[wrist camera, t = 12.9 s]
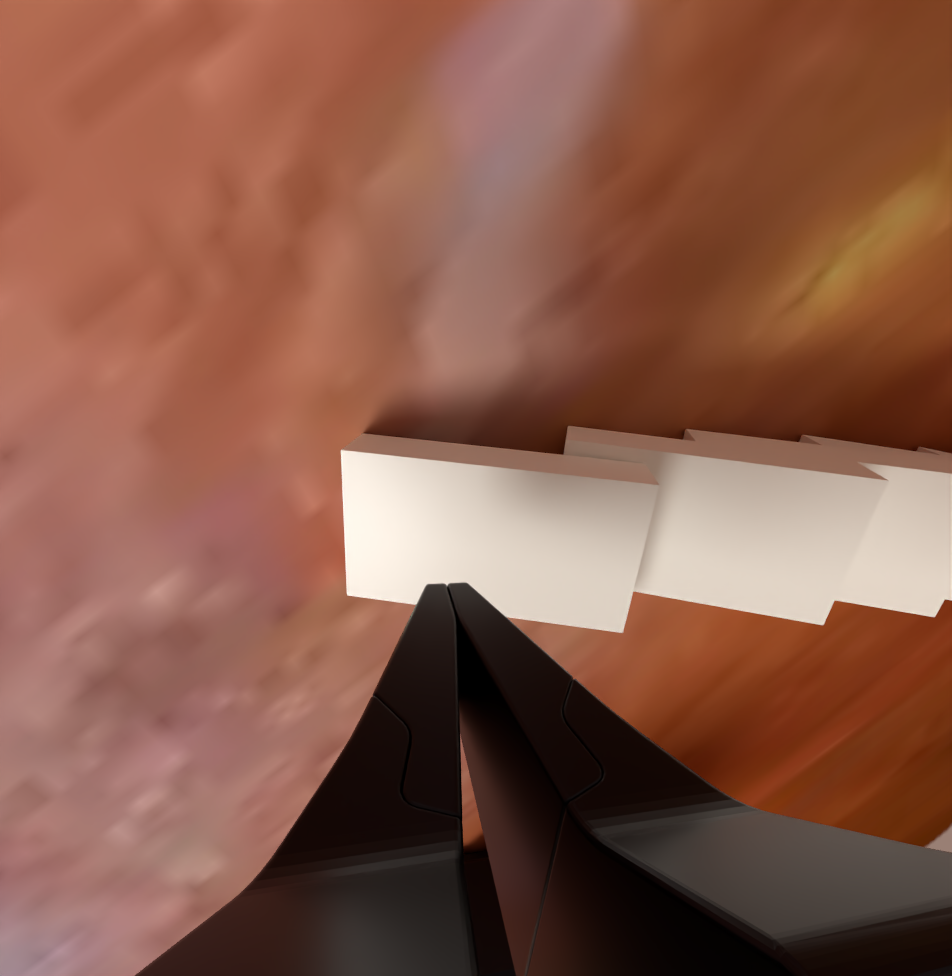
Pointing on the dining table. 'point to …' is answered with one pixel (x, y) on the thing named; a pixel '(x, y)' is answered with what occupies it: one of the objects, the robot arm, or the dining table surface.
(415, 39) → the dining table surface
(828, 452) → the domino
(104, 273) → the dining table surface
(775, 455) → the domino
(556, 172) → the dining table surface
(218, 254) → the dining table surface
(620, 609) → the domino
